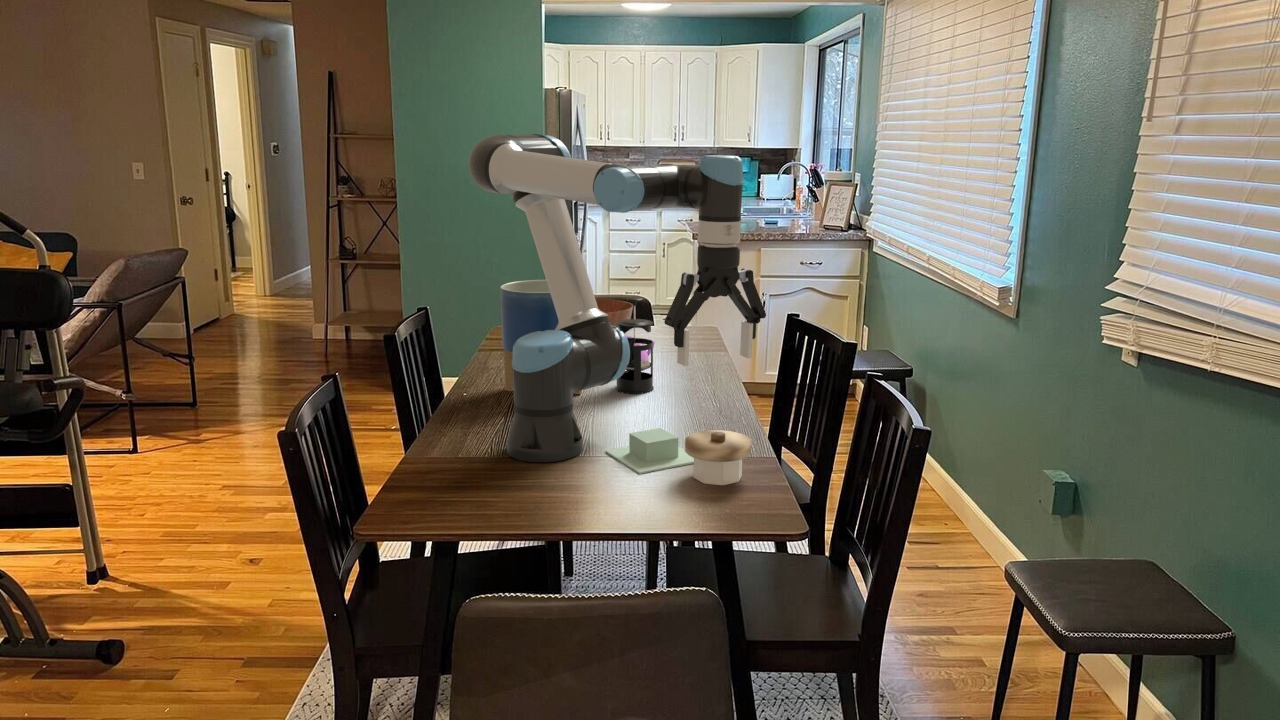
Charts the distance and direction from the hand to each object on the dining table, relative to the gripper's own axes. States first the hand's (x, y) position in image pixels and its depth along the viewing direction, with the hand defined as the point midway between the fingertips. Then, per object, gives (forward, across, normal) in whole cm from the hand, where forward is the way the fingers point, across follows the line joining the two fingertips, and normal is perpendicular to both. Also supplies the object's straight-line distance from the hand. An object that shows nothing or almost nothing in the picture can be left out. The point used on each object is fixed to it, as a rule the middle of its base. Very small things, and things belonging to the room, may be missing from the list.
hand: (714, 360), depth 169 cm
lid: (+16, -1, -4) cm, 17 cm away
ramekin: (+21, -1, -4) cm, 21 cm away
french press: (+22, +13, +57) cm, 63 cm away
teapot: (+23, +22, +78) cm, 84 cm away
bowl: (+23, +26, +110) cm, 115 cm away
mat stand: (+21, -6, +11) cm, 25 cm away
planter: (+22, -8, +65) cm, 69 cm away
